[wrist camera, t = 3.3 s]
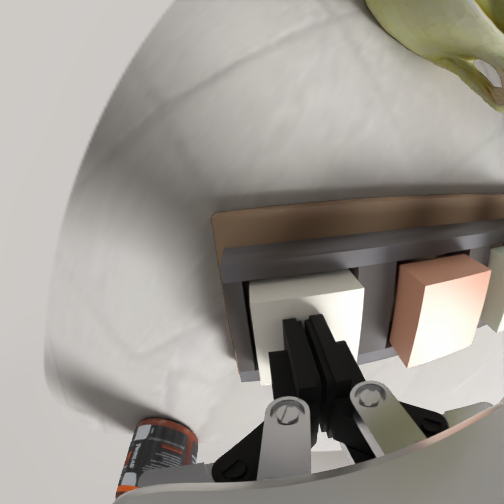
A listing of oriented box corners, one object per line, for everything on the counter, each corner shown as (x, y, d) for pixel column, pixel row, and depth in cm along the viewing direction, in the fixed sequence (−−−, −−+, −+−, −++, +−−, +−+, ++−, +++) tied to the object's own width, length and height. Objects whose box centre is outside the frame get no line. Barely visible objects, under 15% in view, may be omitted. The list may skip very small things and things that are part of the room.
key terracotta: (464, 253, 12) (491, 269, 10) (449, 323, 13) (470, 345, 11) (399, 264, 12) (425, 286, 10) (388, 341, 13) (407, 368, 11)
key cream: (345, 265, 13) (364, 288, 10) (342, 342, 14) (355, 370, 12) (249, 277, 13) (249, 303, 11) (259, 354, 14) (261, 385, 12)
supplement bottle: (128, 411, 20) (93, 515, 9) (192, 417, 20) (174, 536, 9) (148, 444, 22) (126, 534, 11) (204, 450, 22) (194, 548, 11)
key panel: (508, 194, 14) (538, 203, 11) (489, 307, 17) (512, 326, 14) (213, 213, 14) (204, 230, 11) (239, 362, 18) (238, 400, 14)
